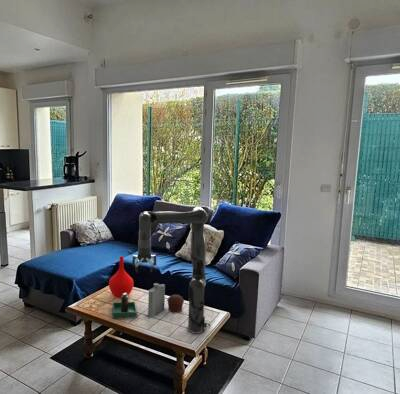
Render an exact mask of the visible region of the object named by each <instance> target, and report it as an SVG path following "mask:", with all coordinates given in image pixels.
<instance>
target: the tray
mask: <svg viewBox="0 0 400 394" xmlns="http://www.w3.org/2000/svg"><path fill="white" fill-rule="evenodd" d="M112 317H113V319H129V318H138V311H137V306H136V302H135V301H128V312H121V301H119V302H112Z"/></svg>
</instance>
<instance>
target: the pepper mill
mask: <svg viewBox="0 0 400 394" xmlns="http://www.w3.org/2000/svg"><path fill="white" fill-rule="evenodd" d="M120 302H121V312H128V302H129V295H127V293H123V294H122V295H121V298H120Z"/></svg>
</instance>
